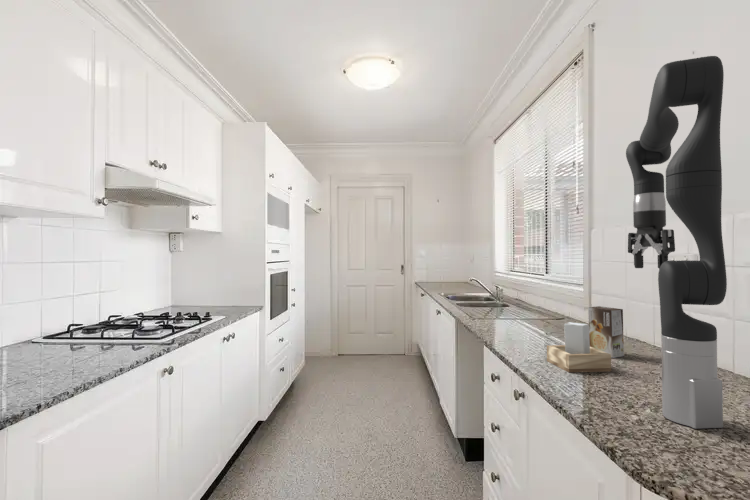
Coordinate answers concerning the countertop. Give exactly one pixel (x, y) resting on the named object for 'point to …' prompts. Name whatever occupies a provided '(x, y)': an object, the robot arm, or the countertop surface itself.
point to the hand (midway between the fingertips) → (650, 268)
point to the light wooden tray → (579, 360)
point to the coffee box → (606, 330)
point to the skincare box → (577, 338)
